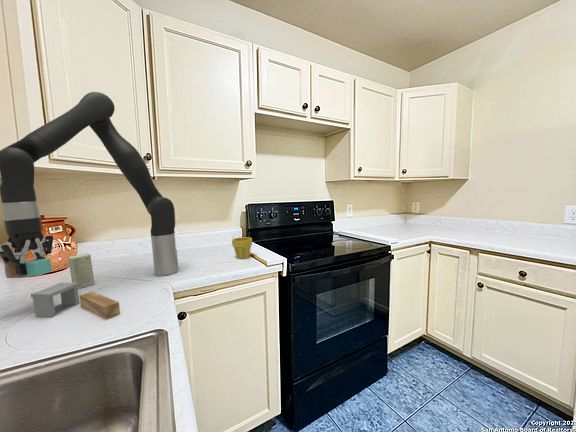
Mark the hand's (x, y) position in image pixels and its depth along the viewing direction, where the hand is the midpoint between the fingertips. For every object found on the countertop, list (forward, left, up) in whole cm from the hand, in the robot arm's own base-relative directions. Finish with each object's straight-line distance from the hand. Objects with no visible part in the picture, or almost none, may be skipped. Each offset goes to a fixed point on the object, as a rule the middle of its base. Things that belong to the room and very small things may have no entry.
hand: (32, 272), depth 75 cm
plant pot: (-58, +50, -12) cm, 77 cm away
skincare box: (-19, -3, -12) cm, 23 cm away
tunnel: (0, +7, -12) cm, 14 cm away
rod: (0, +21, -12) cm, 24 cm away
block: (0, +1, -1) cm, 2 cm away
